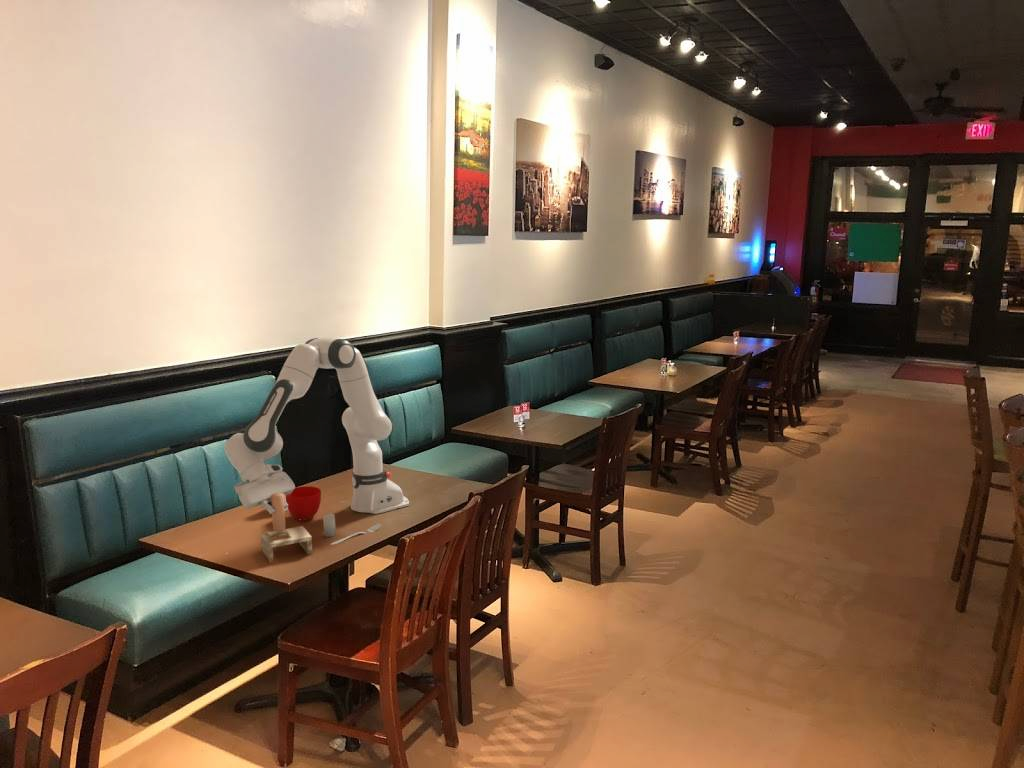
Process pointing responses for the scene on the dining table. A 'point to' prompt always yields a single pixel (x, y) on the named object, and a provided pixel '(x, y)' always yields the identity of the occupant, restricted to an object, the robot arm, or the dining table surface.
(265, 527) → the dining table surface
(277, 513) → the long dowel
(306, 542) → the bridge
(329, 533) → the short dowel
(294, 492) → the ceramic cup
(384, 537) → the dining table surface
